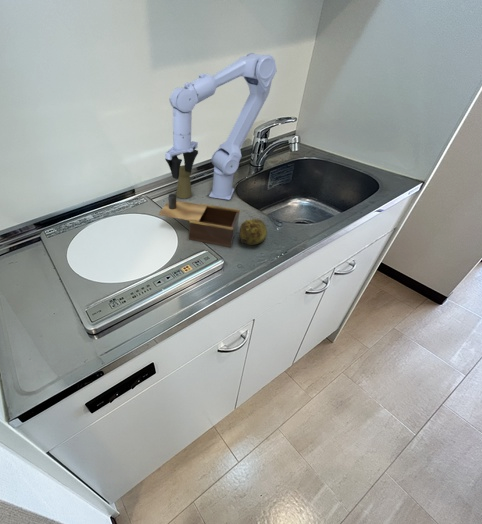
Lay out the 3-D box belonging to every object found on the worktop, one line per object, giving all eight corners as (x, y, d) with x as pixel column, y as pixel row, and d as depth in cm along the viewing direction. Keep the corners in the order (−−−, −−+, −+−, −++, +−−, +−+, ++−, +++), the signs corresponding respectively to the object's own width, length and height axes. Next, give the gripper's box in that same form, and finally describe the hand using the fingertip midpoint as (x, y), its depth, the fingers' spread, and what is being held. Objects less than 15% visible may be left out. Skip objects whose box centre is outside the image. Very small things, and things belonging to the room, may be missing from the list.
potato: (276, 238, 84) (283, 215, 79) (251, 256, 78) (256, 232, 73) (253, 227, 89) (258, 205, 84) (227, 243, 83) (230, 220, 77)
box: (199, 221, 93) (200, 203, 88) (237, 227, 89) (240, 209, 85) (189, 239, 84) (189, 221, 80) (230, 247, 81) (233, 228, 77)
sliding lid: (169, 201, 91) (169, 187, 88) (207, 207, 87) (208, 193, 84) (158, 215, 84) (157, 201, 81) (198, 222, 81) (199, 208, 78)
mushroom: (192, 191, 109) (193, 163, 102) (191, 198, 105) (192, 169, 98) (176, 191, 110) (176, 163, 103) (175, 198, 105) (175, 169, 98)
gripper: (177, 140, 81) (177, 184, 90) (205, 129, 90) (203, 170, 98) (159, 136, 85) (161, 179, 93) (188, 126, 93) (187, 166, 102)
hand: (182, 174), depth 96 cm, fingers open, 6 cm apart
